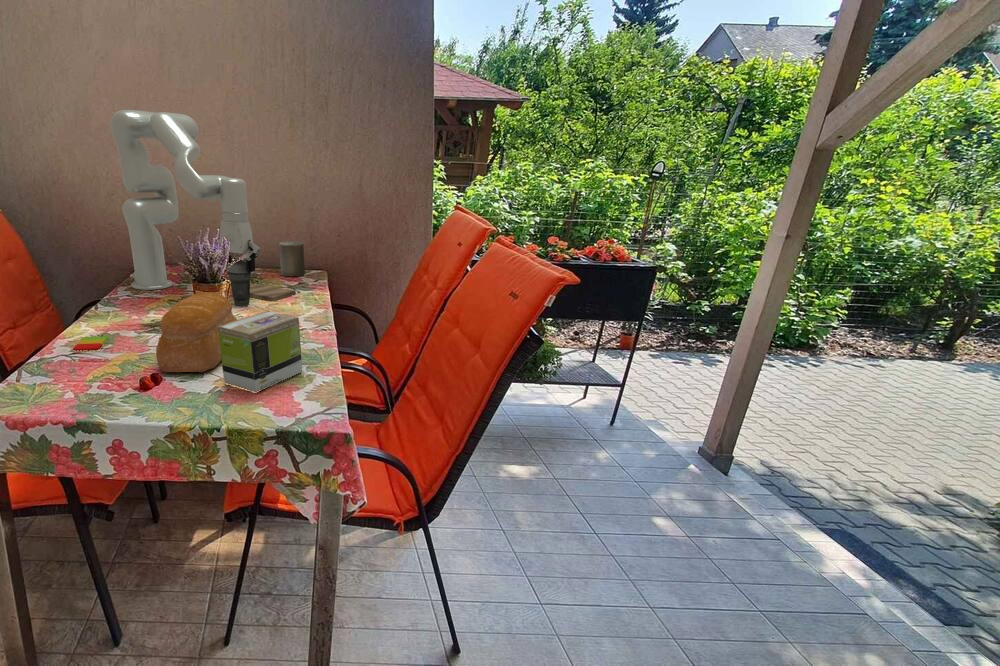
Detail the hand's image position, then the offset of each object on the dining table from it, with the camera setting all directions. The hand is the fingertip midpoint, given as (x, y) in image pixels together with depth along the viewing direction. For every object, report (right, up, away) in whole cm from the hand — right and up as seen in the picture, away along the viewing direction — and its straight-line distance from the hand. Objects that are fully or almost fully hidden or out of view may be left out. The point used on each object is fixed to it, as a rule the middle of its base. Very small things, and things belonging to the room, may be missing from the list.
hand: (239, 269), depth 177 cm
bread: (+10, -27, -39) cm, 49 cm away
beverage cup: (-1, -12, +4) cm, 12 cm away
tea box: (+31, -32, -50) cm, 67 cm away
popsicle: (-19, -25, -38) cm, 49 cm away
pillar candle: (-2, +4, +50) cm, 51 cm away
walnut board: (0, -7, +19) cm, 20 cm away
